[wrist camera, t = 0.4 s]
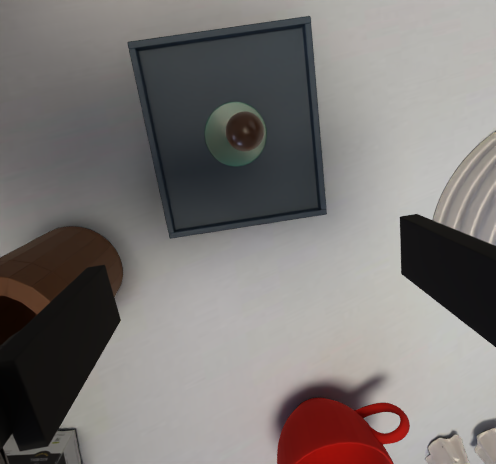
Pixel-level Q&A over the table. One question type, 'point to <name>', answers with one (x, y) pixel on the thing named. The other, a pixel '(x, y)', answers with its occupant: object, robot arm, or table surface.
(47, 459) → the tea box
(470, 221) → the plate stack
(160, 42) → the tray
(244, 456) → the table surface
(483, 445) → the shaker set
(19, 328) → the wooden jar
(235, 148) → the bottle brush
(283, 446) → the ceramic cup
